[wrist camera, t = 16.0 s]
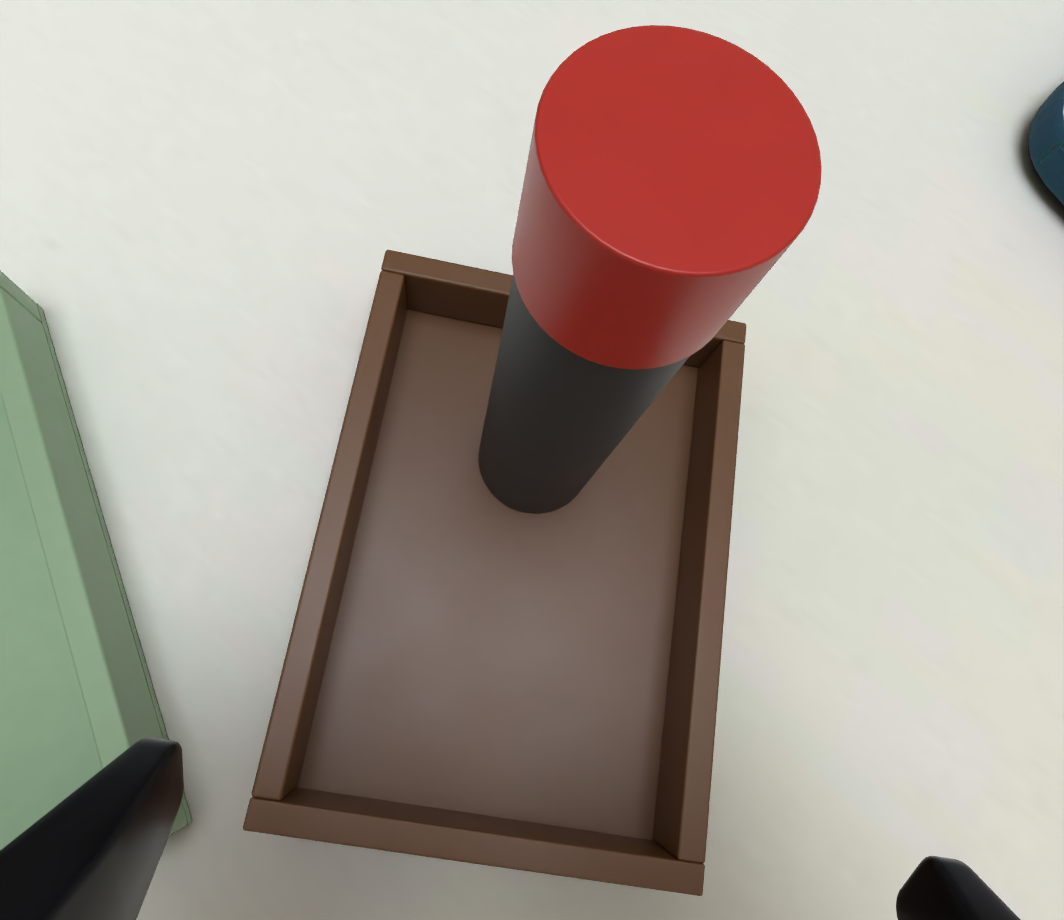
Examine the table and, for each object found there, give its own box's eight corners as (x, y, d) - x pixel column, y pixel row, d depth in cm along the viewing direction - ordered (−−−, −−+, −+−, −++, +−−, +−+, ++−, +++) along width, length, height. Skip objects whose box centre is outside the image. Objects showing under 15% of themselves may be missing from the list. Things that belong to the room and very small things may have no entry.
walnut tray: (671, 869, 20) (702, 897, 17) (266, 810, 19) (241, 830, 17) (716, 356, 24) (747, 322, 22) (390, 290, 23) (385, 247, 21)
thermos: (494, 531, 21) (589, 304, 8) (461, 418, 22) (498, 44, 9) (607, 499, 22) (867, 241, 9) (571, 391, 23) (760, 6, 10)
